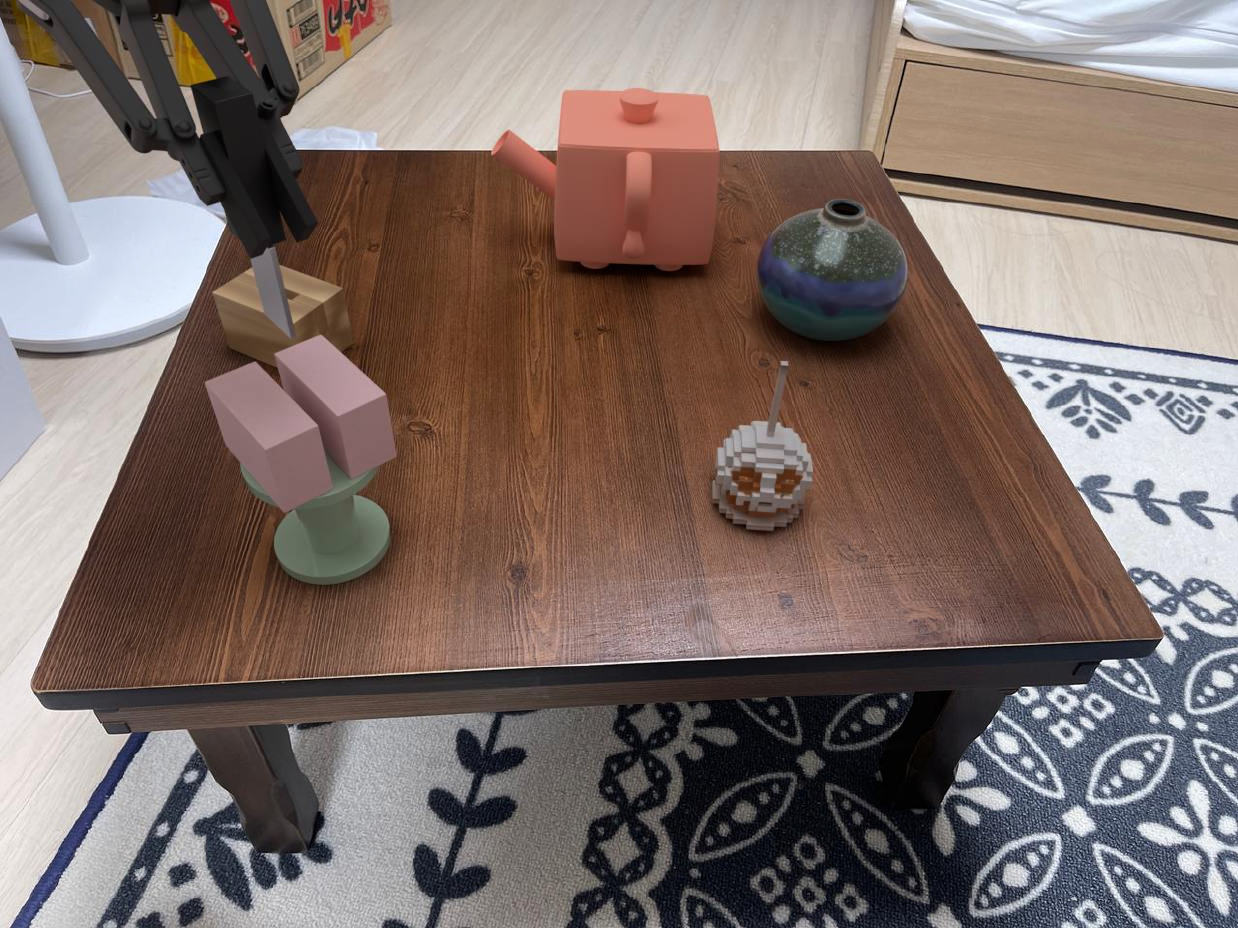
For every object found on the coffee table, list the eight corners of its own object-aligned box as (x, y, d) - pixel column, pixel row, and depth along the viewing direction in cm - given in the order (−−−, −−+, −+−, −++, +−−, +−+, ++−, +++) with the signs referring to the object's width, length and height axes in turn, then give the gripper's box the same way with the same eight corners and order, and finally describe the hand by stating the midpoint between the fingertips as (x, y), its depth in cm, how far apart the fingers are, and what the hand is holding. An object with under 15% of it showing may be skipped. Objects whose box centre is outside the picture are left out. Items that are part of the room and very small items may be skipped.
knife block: (306, 380, 90) (292, 323, 86) (228, 348, 93) (211, 292, 89) (353, 343, 95) (343, 288, 90) (278, 314, 98) (264, 259, 93)
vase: (903, 367, 96) (939, 253, 86) (753, 358, 96) (773, 243, 87) (880, 285, 107) (910, 176, 98) (746, 277, 107) (763, 167, 98)
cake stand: (308, 611, 70) (281, 521, 64) (247, 535, 76) (216, 444, 69) (421, 547, 76) (406, 457, 69) (356, 480, 81) (337, 390, 74)
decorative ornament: (712, 531, 78) (735, 392, 68) (710, 467, 84) (731, 330, 73) (805, 537, 78) (842, 399, 68) (797, 473, 84) (830, 336, 73)
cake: (284, 513, 64) (265, 449, 60) (225, 445, 69) (203, 381, 65) (397, 456, 69) (386, 393, 65) (334, 396, 73) (321, 333, 69)
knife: (278, 344, 60) (216, 104, 49) (251, 319, 62) (187, 82, 51) (309, 331, 61) (255, 94, 50) (282, 307, 63) (225, 73, 52)
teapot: (487, 291, 103) (476, 134, 90) (503, 193, 119) (496, 49, 107) (713, 297, 104) (733, 143, 91) (698, 199, 120) (714, 57, 108)
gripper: (200, -123, 58) (380, 223, 61) (-73, -89, 50) (147, 306, 53) (217, -214, 52) (417, 177, 55) (-93, -192, 44) (159, 264, 47)
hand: (284, 240), depth 54 cm, fingers closed on knife, 2 cm apart
